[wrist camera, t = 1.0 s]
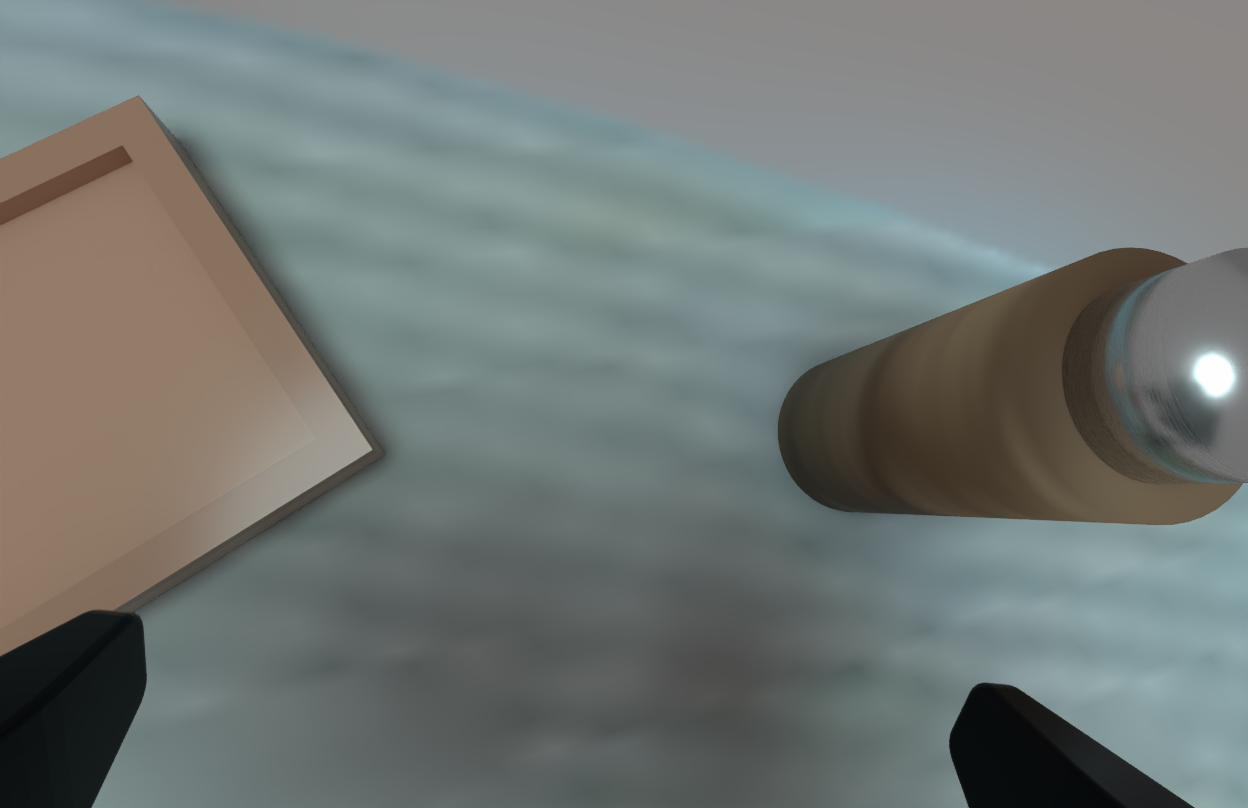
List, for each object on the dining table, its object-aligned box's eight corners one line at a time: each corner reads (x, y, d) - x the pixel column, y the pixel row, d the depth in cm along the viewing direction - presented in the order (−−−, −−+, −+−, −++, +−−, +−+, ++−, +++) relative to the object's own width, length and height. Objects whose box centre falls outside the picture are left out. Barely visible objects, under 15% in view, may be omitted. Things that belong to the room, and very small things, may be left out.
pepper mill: (947, 455, 24) (1452, 411, 11) (835, 542, 23) (1257, 599, 10) (864, 331, 24) (1277, 149, 11) (748, 412, 23) (1064, 308, 10)
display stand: (385, 454, 21) (372, 449, 19) (3, 692, 18) (-64, 719, 16) (176, 138, 21) (138, 95, 19) (-231, 334, 18) (-331, 311, 16)
